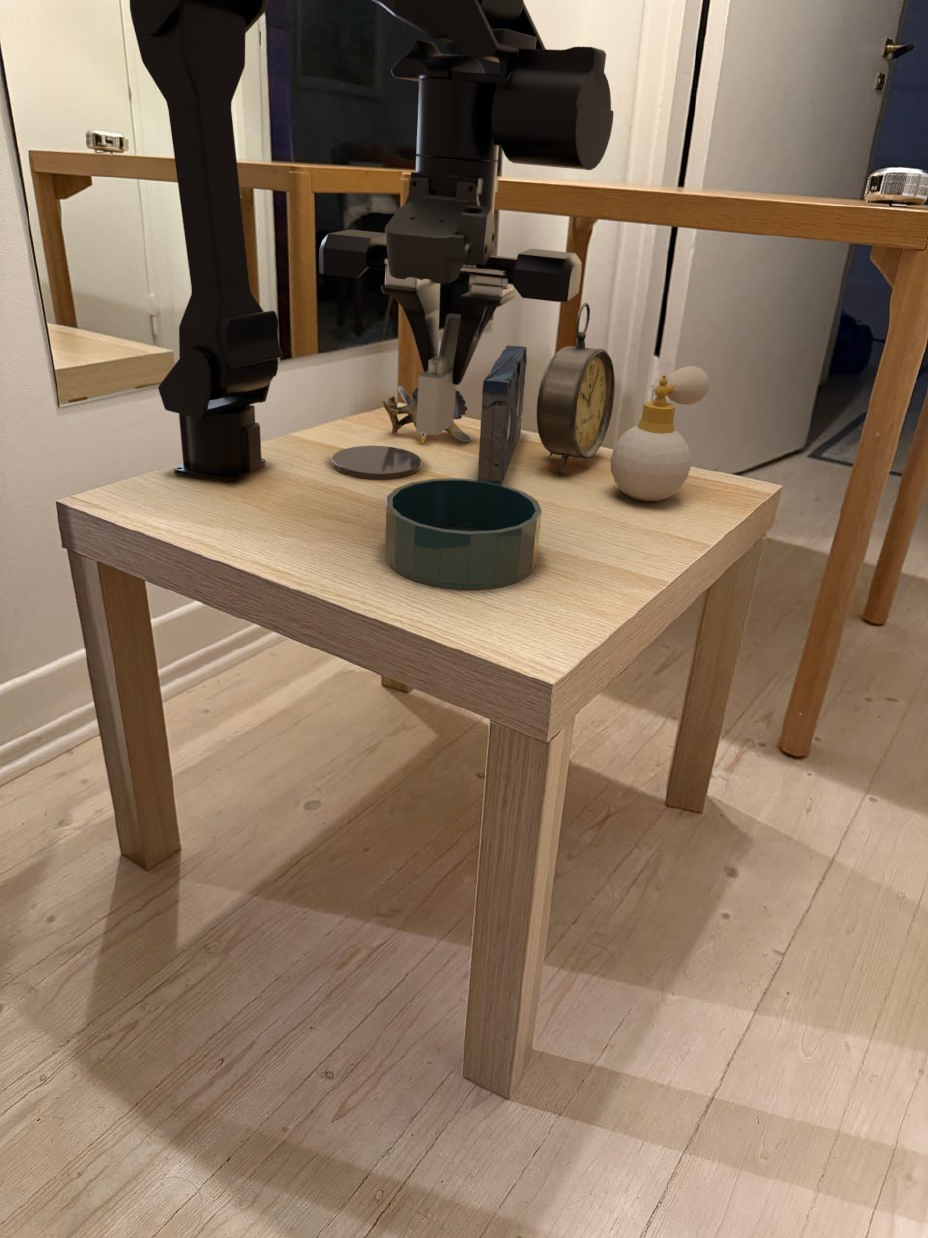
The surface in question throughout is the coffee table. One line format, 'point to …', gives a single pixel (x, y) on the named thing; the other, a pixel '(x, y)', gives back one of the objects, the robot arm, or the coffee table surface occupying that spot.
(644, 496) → the perfume bottle
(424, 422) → the lighter
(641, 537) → the coffee table surface
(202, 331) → the robot arm
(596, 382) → the alarm clock
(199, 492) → the coffee table surface
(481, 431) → the vhs cassette tape
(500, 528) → the shallow faceted bowl
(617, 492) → the coffee table surface
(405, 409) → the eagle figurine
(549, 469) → the coffee table surface
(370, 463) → the coaster
